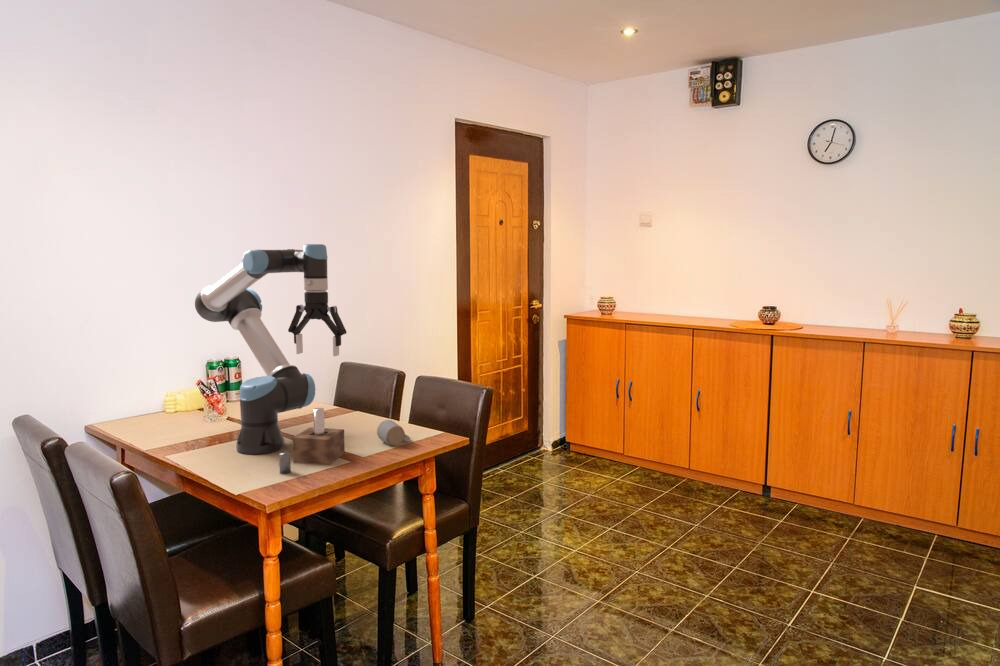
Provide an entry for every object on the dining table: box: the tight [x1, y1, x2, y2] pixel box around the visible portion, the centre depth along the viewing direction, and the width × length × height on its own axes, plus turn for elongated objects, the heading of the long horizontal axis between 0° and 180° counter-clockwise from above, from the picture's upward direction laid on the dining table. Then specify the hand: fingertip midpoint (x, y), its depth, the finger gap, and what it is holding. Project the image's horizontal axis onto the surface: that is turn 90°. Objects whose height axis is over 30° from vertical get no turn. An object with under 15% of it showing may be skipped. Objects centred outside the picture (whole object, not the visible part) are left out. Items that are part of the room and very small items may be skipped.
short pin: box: [278, 450, 292, 475], centre depth 201 cm, size 3×3×6 cm
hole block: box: [292, 427, 346, 466], centre depth 215 cm, size 12×12×8 cm
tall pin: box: [312, 407, 325, 436], centre depth 214 cm, size 3×3×16 cm
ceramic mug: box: [376, 419, 411, 447], centre depth 231 cm, size 11×8×8 cm
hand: (317, 354), depth 224 cm, fingers open, 13 cm apart
